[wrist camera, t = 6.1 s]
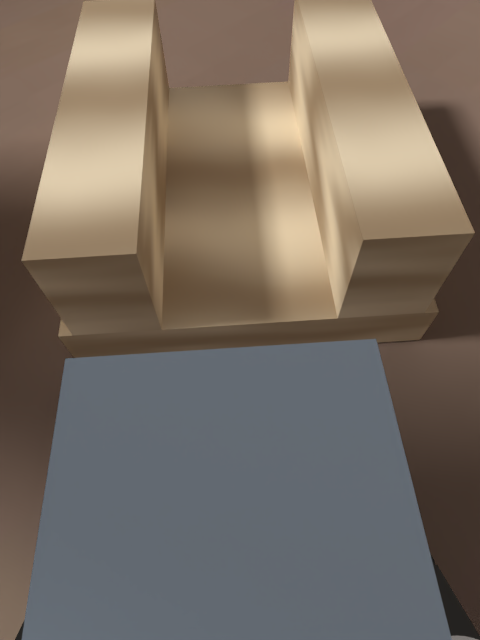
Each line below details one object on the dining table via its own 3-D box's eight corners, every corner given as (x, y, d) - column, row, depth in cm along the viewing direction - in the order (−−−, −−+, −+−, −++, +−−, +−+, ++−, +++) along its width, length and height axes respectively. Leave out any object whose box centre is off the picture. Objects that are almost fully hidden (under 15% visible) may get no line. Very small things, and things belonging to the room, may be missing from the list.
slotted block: (420, 339, 17) (493, 232, 12) (77, 362, 17) (2, 261, 12) (349, 113, 24) (376, -14, 19) (109, 127, 24) (71, 1, 19)
